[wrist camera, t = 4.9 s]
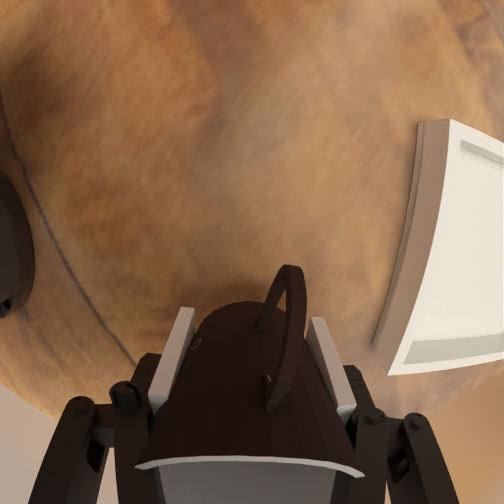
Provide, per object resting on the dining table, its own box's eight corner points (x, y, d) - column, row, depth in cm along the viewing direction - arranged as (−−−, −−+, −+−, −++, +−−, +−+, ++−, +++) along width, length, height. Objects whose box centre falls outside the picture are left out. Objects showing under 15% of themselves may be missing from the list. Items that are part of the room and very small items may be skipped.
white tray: (371, 345, 23) (387, 375, 19) (418, 122, 17) (450, 118, 13) (500, 336, 23) (519, 354, 19) (544, 178, 17) (570, 185, 13)
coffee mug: (264, 411, 19) (268, 538, 9) (154, 356, 17) (102, 492, 8) (385, 292, 16) (479, 423, 6) (263, 201, 14) (282, 317, 4)
